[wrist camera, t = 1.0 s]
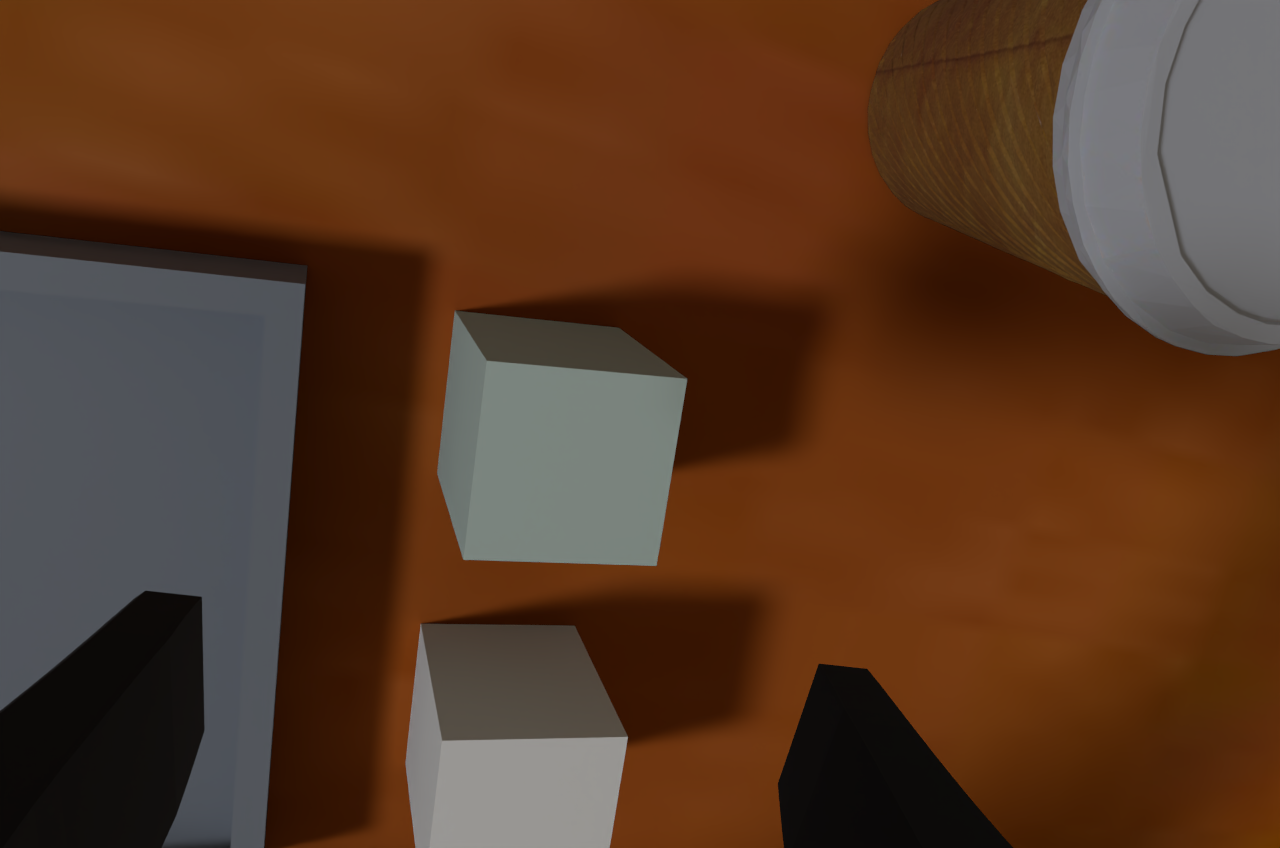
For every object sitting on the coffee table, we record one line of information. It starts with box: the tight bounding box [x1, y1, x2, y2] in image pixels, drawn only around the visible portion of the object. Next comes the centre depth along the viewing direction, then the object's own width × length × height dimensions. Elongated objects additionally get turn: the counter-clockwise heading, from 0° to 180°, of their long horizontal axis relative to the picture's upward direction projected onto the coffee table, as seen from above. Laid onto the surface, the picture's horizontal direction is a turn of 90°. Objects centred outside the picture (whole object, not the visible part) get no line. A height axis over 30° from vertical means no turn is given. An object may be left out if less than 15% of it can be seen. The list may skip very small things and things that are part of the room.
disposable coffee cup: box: [868, 0, 1280, 356], centre depth 24 cm, size 10×10×12 cm
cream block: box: [405, 624, 628, 848], centre depth 28 cm, size 4×4×6 cm
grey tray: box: [0, 231, 307, 848], centre depth 25 cm, size 17×12×3 cm
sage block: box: [437, 311, 687, 566], centre depth 26 cm, size 4×4×6 cm
